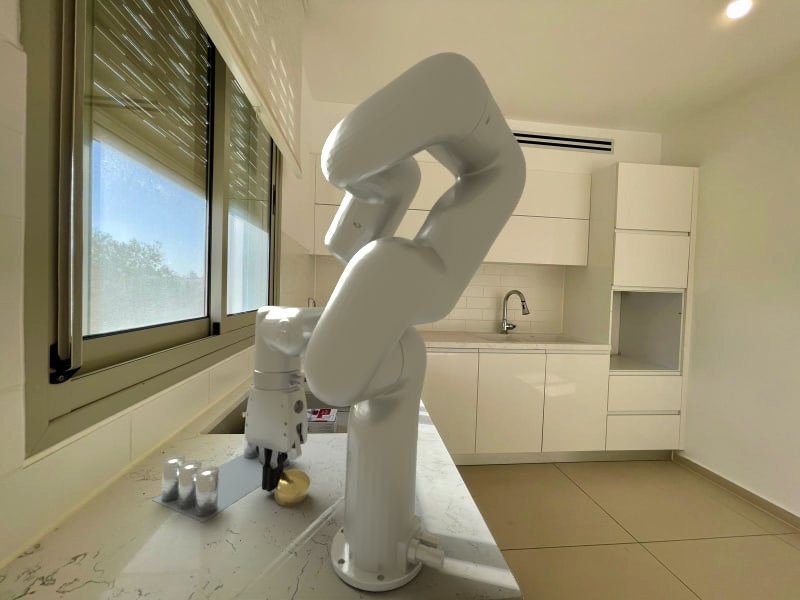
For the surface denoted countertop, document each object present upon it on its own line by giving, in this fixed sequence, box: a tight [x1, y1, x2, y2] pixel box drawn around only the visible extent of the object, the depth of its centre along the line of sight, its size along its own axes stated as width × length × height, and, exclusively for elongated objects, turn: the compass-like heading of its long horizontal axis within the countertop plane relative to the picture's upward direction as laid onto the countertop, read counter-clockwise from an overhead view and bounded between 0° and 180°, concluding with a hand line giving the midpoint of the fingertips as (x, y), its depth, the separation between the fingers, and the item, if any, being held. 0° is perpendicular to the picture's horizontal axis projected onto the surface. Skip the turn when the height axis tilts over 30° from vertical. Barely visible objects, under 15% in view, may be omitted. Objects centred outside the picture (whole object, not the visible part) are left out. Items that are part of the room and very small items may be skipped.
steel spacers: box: [161, 436, 291, 517], centre depth 60 cm, size 11×19×6 cm, turn 157°
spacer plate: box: [151, 453, 297, 523], centre depth 60 cm, size 12×20×1 cm, turn 157°
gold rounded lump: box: [273, 468, 311, 508], centre depth 55 cm, size 5×5×3 cm
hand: (272, 486), depth 56 cm, fingers closed
